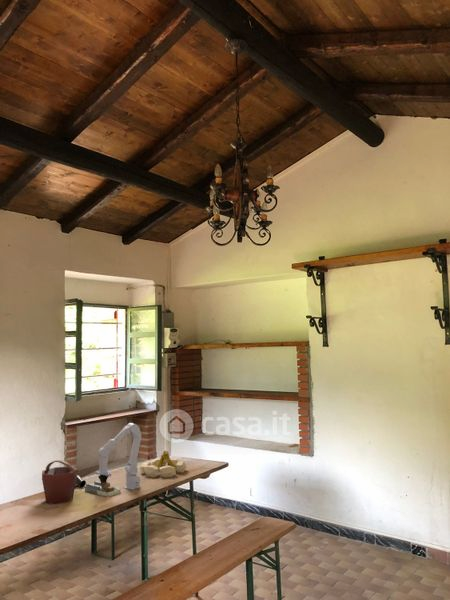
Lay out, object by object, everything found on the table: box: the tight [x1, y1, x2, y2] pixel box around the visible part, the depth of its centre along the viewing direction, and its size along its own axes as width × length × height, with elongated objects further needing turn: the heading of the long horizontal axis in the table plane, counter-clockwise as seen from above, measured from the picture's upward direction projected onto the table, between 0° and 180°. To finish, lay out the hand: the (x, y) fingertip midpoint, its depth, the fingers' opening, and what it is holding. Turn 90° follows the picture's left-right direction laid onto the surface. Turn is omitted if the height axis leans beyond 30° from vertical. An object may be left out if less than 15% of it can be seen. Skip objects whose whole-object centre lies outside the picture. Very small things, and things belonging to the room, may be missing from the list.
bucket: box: [41, 459, 79, 505], centre depth 306 cm, size 24×22×25 cm
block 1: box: [101, 480, 111, 490], centre depth 317 cm, size 4×4×4 cm
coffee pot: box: [75, 475, 87, 488], centre depth 332 cm, size 8×18×8 cm
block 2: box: [105, 484, 115, 493], centre depth 315 cm, size 4×4×4 cm
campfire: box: [139, 450, 188, 478], centre depth 369 cm, size 35×34×17 cm
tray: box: [96, 487, 121, 498], centre depth 316 cm, size 11×11×2 cm
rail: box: [84, 480, 106, 495], centre depth 323 cm, size 14×10×4 cm
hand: (103, 486), depth 319 cm, fingers closed
